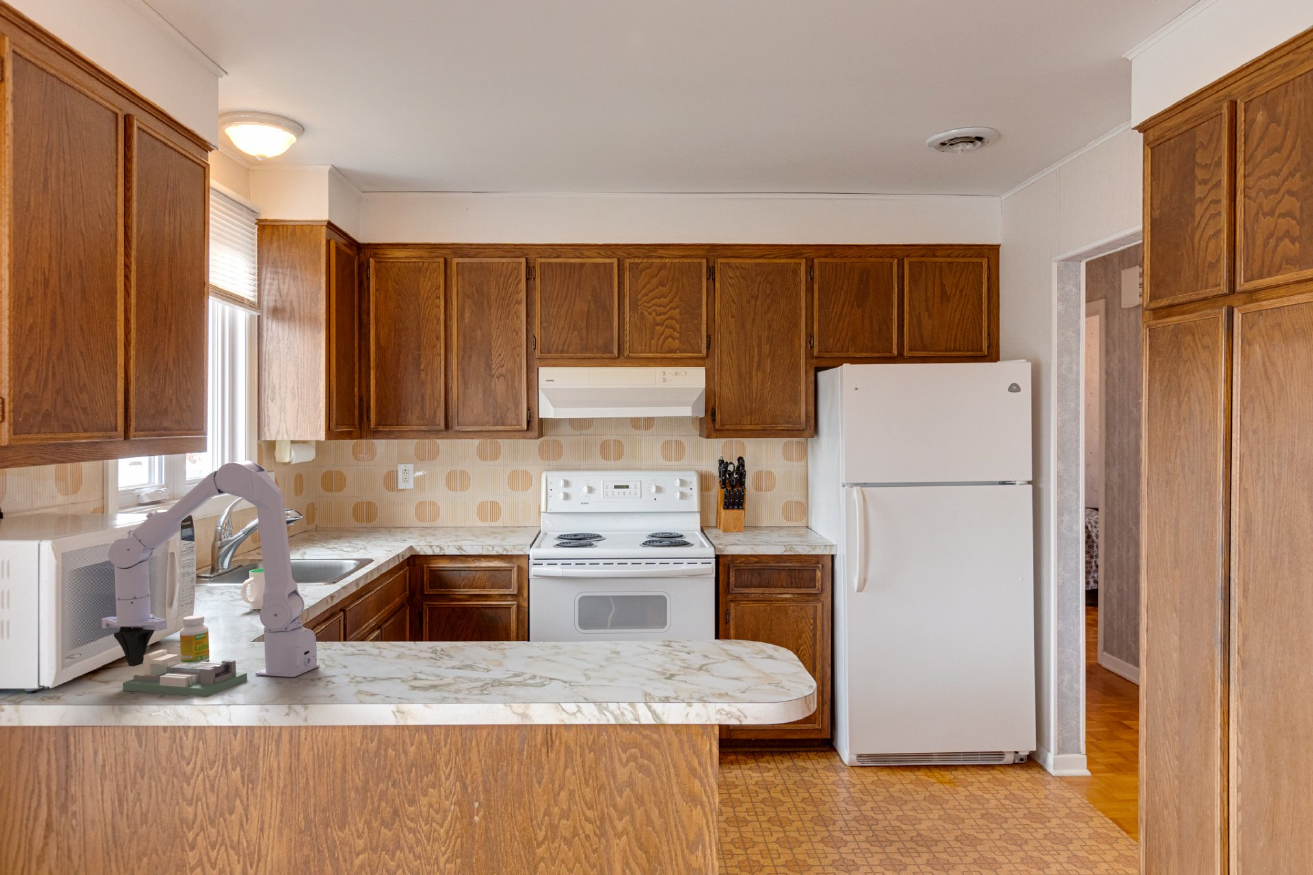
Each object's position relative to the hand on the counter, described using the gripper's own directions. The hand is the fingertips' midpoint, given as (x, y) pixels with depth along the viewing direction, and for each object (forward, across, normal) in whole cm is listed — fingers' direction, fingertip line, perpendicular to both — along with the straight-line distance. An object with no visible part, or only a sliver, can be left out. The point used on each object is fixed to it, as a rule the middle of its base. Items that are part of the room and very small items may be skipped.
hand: (135, 664), depth 164 cm
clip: (+2, -7, 0) cm, 7 cm away
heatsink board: (+3, -12, 0) cm, 13 cm away
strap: (+1, -15, 0) cm, 15 cm away
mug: (+4, +26, -62) cm, 67 cm away
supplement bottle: (+4, 0, -14) cm, 14 cm away
